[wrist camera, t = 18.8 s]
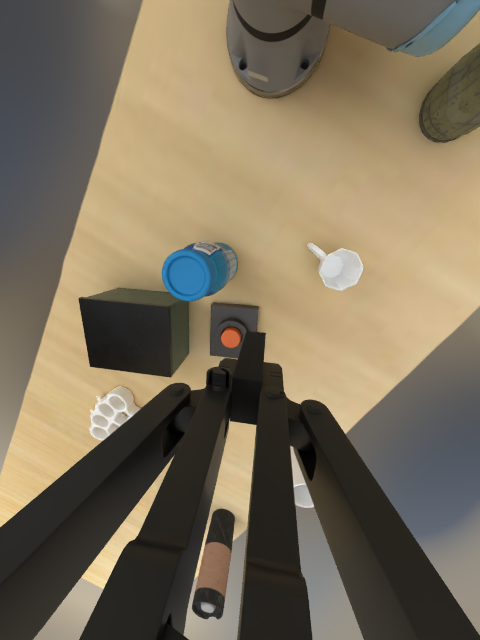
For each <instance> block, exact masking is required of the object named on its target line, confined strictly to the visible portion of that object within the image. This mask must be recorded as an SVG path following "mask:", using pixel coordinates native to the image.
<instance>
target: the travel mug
mask: <svg viewBox="0 0 480 640" xmlns="http://www.w3.org/2000/svg"><path fill="white" fill-rule="evenodd" d="M234 522H235V518H234V515H233V514H232V513H231V512H230V511H228V510H225V509H218V510H216V511H214V513H213V515H212V519H211V523H210V527H209V531H208V535H207V539H206V543H205V548H204V552H203V557H202V562H201V566H200V571H199V576H198V581H197V585H196V590H195V595H194V600H193V605H192V610H193V611H194V613H195V614H196V615H198V616H199V617H201V618H204V619H208V618H209V617H212V616H213V617H216V618H217V619H220V618H221V617H222V615H223V608H224V602H225V594H226V587H227V579H228V573H229V565H230V558H231V550H232V541H233V531H234Z"/></svg>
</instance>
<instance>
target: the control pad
mask: <svg viewBox="0 0 480 640" xmlns="http://www.w3.org/2000/svg"><path fill="white" fill-rule="evenodd" d="M258 309H259V307H258V306H248V305H237V304H226V303H216V302H213V303H212V305H211V336H210V355H212V356H221V357H229V358H238V357H239V354H240V351H241V347H242V344H243V340H244V337H245V334H246V331H251V332H256V331H257V320H258ZM229 327H233V328H236V329H238V330H239V332H240V333H241V340H240V343H239V344H238V345H237V346H236V347H234V348H229V347H226V346H225V345H224V344H223V343H222V341H221V335H222V333H223V332H224V330H225V329H226V328H229Z"/></svg>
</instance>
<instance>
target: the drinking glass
mask: <svg viewBox="0 0 480 640" xmlns="http://www.w3.org/2000/svg"><path fill="white" fill-rule="evenodd" d="M290 449H291V461H292V473H293V484H294V496H295V504H296V505H298V506H300V507H305V508H309V507H314V504H313V502H312V499H311V496H310V494H309V491H308V488H307V485H306V483H305V480H304V477H303V475H302V472H301V469H300V467H299V464H298V461H297V459H296V456H295V453H294V450H293V447H292V446H290Z"/></svg>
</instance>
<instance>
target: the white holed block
mask: <svg viewBox="0 0 480 640" xmlns="http://www.w3.org/2000/svg"><path fill="white" fill-rule="evenodd" d="M97 399H98V403H97V404H96V405H95V409H93V410H90V412H91V418H90V419H91V421H92V426H91V427H90V428H89V430H90V433H91V434H92V436H94V437H95V438H96V439H98V440H105V439H106V438H107V437H108V436H109V435H110V434H112V433H113V432H114V431H115V430H116V429H118V427H117V426H119V427H120V426H121V425H122V424H123V423H125V422H126V421H127V420H128V419H129V418H131V417H132V416H133V415H134V414H135V413H136V412H138V411H139V410H140V409H141V408H140V407H138V406H136V405H135V403H134V397H133V394H132V392H131V391H130V390H129V389H127V388H125V387H122V386H118V387H115V388H114V389H113V390H112V391H111V392H110V393H108V394H107V395H106V396H105V397H100V396H97ZM122 412H126V413H127V414H128V415H129V417H128V416H126V415H124V414H123V413H122Z"/></svg>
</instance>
